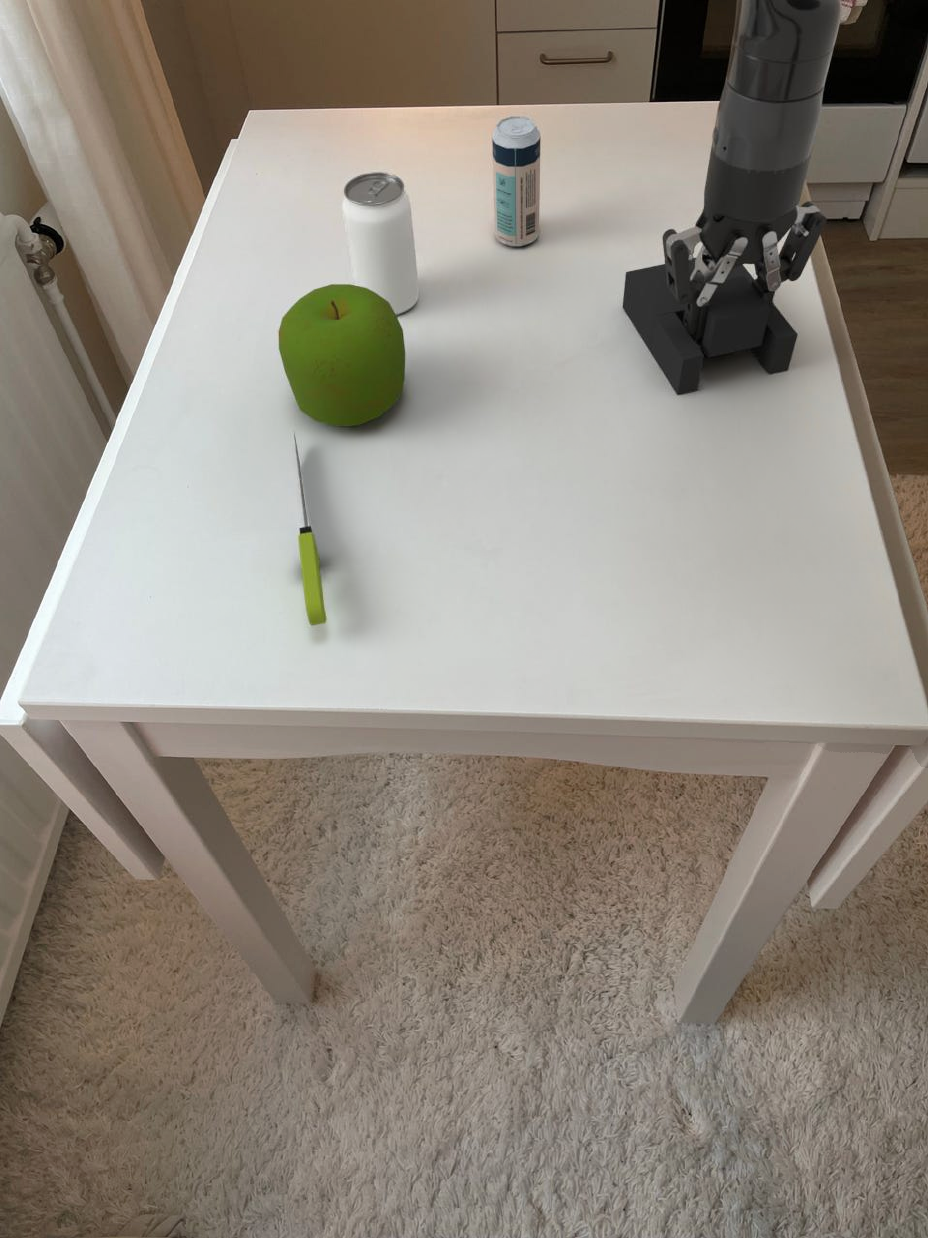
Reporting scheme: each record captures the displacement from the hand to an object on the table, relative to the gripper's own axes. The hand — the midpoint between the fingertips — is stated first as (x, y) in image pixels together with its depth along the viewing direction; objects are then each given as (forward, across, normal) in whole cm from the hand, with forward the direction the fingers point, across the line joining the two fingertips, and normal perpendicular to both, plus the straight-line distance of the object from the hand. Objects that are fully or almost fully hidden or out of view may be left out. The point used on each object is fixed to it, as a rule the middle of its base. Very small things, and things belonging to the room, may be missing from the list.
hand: (724, 326), depth 87 cm
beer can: (+4, -12, +26) cm, 29 cm away
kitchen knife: (+4, -41, -10) cm, 42 cm away
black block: (+1, 0, 0) cm, 1 cm away
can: (+4, -28, +20) cm, 34 cm away
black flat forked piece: (+4, 0, +4) cm, 5 cm away
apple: (+4, -34, +6) cm, 35 cm away
